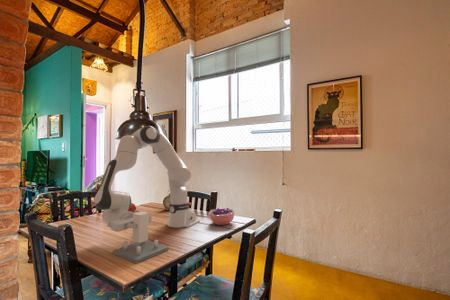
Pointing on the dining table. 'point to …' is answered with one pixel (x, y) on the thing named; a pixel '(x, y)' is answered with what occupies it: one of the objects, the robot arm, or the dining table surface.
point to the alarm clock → (166, 202)
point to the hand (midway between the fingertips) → (141, 225)
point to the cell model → (221, 216)
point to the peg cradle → (140, 250)
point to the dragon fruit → (132, 207)
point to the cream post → (140, 227)
